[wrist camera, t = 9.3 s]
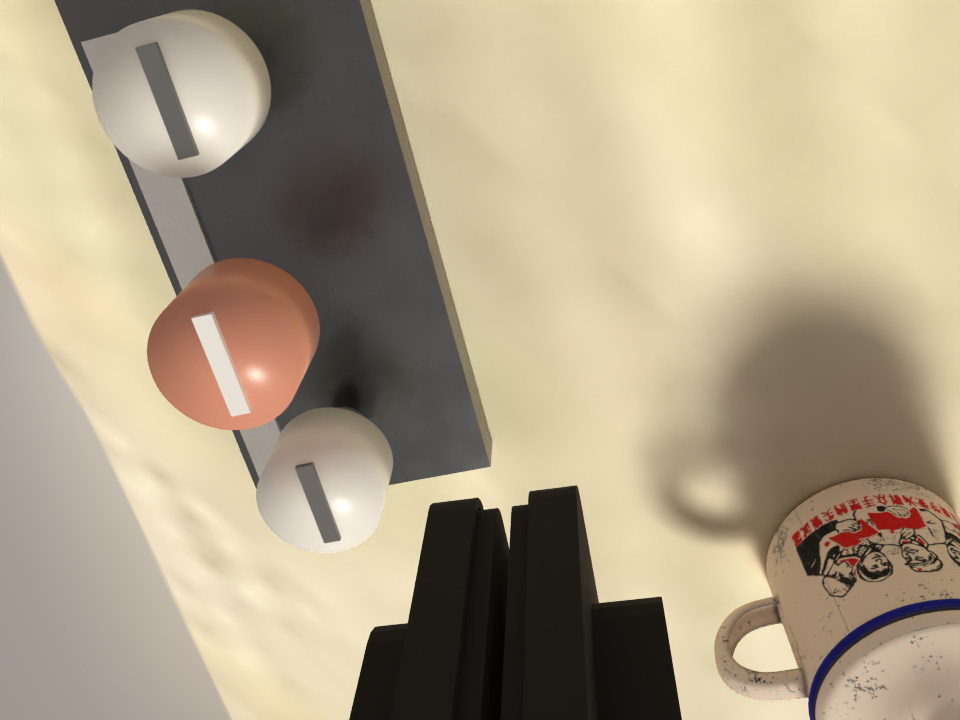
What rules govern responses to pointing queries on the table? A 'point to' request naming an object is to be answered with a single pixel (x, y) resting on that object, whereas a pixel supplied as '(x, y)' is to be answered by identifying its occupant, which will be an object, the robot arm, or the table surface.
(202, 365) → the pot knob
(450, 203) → the table surface
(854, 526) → the teacup with lid
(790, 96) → the table surface
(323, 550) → the knob far
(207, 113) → the knob near
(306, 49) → the mount plate
